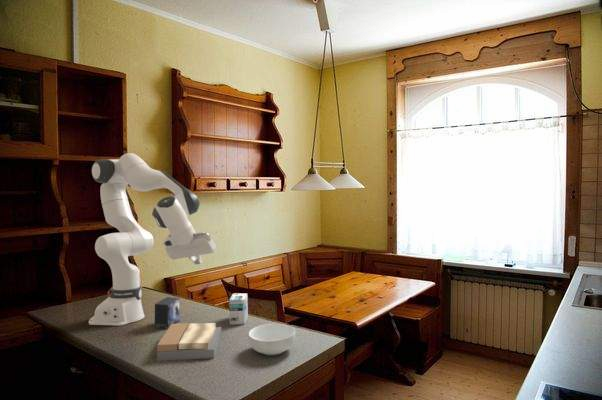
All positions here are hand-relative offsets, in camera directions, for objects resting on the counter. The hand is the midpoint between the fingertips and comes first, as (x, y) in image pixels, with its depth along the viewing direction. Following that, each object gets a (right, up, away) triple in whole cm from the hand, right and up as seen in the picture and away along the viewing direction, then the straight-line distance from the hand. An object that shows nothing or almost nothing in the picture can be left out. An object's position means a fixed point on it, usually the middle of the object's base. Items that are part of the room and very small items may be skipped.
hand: (198, 263), depth 162 cm
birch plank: (+4, -25, -15) cm, 29 cm away
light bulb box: (+14, -28, +14) cm, 34 cm away
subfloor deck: (+1, -28, -15) cm, 32 cm away
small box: (-16, -28, +9) cm, 33 cm away
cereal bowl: (+31, -29, -19) cm, 46 cm away
